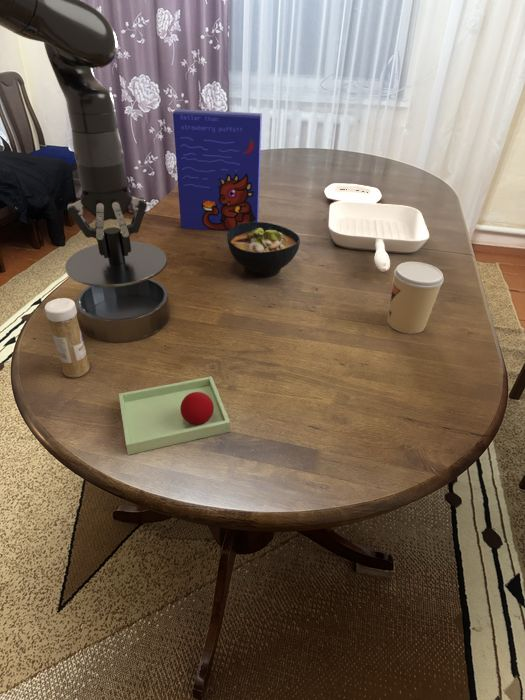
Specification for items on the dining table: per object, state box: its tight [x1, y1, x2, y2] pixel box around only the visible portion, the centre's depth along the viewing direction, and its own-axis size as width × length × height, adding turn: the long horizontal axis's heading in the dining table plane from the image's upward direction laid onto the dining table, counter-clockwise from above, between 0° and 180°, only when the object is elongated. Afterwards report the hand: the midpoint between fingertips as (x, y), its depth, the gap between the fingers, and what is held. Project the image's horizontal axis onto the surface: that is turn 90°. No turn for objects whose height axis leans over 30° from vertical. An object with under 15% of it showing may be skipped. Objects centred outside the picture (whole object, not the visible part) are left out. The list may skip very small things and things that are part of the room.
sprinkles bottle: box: [44, 297, 91, 378], centre depth 77 cm, size 5×5×13 cm
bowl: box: [226, 221, 301, 278], centre depth 111 cm, size 17×17×10 cm
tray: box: [118, 375, 231, 456], centre depth 72 cm, size 15×11×2 cm
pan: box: [327, 201, 430, 273], centre depth 126 cm, size 27×44×5 cm, turn 172°
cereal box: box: [172, 108, 263, 232], centre depth 126 cm, size 22×6×30 cm, turn 87°
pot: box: [75, 278, 171, 344], centre depth 94 cm, size 17×17×5 cm
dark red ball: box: [180, 392, 214, 425], centre depth 70 cm, size 5×5×5 cm
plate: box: [324, 182, 383, 203], centre depth 159 cm, size 19×19×2 cm
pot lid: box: [64, 226, 168, 287], centre depth 86 cm, size 18×18×7 cm
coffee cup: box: [387, 261, 445, 335], centre depth 94 cm, size 9×9×12 cm
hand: (115, 254), depth 87 cm, fingers closed on pot lid, 3 cm apart
